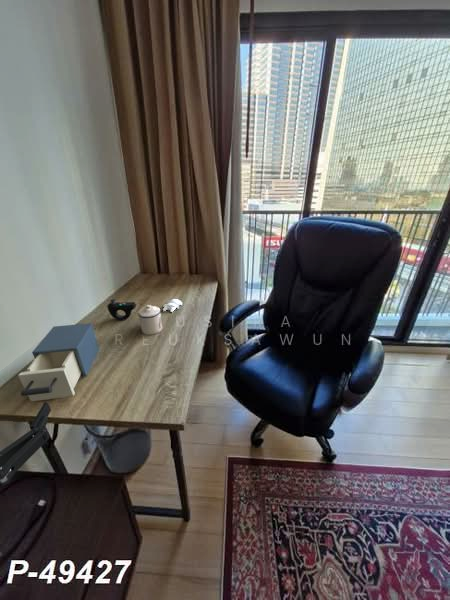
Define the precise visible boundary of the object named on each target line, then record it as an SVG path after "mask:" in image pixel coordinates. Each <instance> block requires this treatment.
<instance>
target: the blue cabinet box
mask: <svg viewBox="0 0 450 600" xmlns="http://www.w3.org/2000/svg"><path fill="white" fill-rule="evenodd" d="M73 350H75V353H76V355H77V358H78V361H79V364H80V367H81V370H82V373H81V375H80V377H79V378H86V377H88V375H89V372H90V370H91V368H92V366H93V364H94V362H95V360H96V357H97V355H98V353H99V352H100V347H99V343H98V340H97V337H96V333H95V330H94V326H93V323H92V322H89V323H78V324H66V325H56V326H55V325H54V326H52V328H51V329H50V330H49V332H48V333H46V335H45V336H44V338H42V340H41V341H40V342H39V343H38V344H37V346H36V347H35V348H33V350H32V351H31V354H32V356H33V358H34V359H35V358H36V357H37V356H38V355H39V354H43V353H53V352H63V351H73Z"/></svg>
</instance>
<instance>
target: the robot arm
mask: <svg viewBox="0 0 450 600" xmlns="http://www.w3.org/2000/svg"><path fill="white" fill-rule="evenodd" d="M51 412H52V408H51V406H50V404H49V402H47V401H45V402H43V404H42V405H41V407H40V409H39V410H38V412H37V413H36V416H35V417H34V419H33V420H32V422H31V424H30V425H29V429H30V430H29V431H27V432H26V433H24V434H23V435H22V436H20V437H19V438H17V439H16V440H14V441H13V442H11V443H10V444H9V445H8V446H7V445H6V447H5V448H3V449H2V450H0V484H1V485H2V486H7V485H8V484H9V483H10V482H11V480H12V478H13V477H14V475H15V474H16V472H17V471H18V470H19V469H21V467H23V465H25V464H26V463H27V461H29V460H30V458H31V457H32V456H33V455H35V453H37V451H39V450H40V448H42V446H43V445H44V444H45V443H47V442H48V441H49V439H50V438H51V437H50V434H49V432H48V430H47V429H46V427H47V424H48V423H49V418H48V417H49V416H50V413H51Z"/></svg>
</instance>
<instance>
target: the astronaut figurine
mask: <svg viewBox="0 0 450 600" xmlns="http://www.w3.org/2000/svg"><path fill="white" fill-rule="evenodd" d="M179 305H182V306H183V302H182V301H181V300H180V299H176V298H172V299H170V300H168V301H167V303H165V304H163V305H162V311H163V312H164V311H165V312H167V311H166V310H168V311H169V310H170V311H169V313H170V312H172V313H174V312H175V311H176V310H180V306H179ZM163 307H164V308H163ZM176 308H177V309H176ZM175 309H176V310H175ZM174 310H175V311H174ZM173 311H174V312H173Z"/></svg>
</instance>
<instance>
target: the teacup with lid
mask: <svg viewBox="0 0 450 600" xmlns="http://www.w3.org/2000/svg"><path fill="white" fill-rule="evenodd" d="M161 311H162V310H161V309H160V308H159V306H155V305H151V304H146V305H145V306H144V307H142V308H140V309H139V310H138V312H137V316H138V317H139V323H140V329H141V332H142V333H143V334H144V335H149V336H150V335H156V334H158V333H160V332H161V331H162V330H163V323H162V314H161Z"/></svg>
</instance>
